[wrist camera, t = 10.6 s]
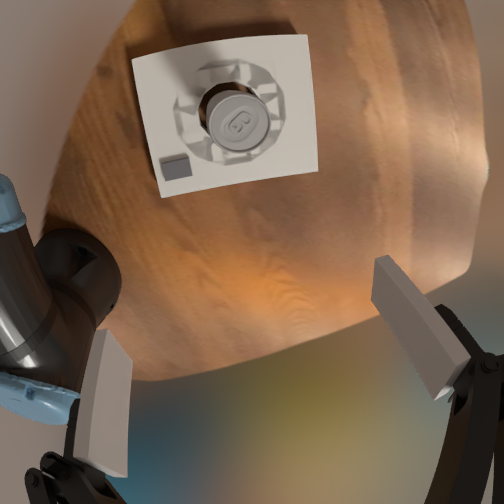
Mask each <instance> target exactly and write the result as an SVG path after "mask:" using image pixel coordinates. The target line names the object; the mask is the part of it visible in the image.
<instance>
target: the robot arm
mask: <svg viewBox="0 0 504 504" xmlns="http://www.w3.org/2000/svg"><path fill="white" fill-rule="evenodd" d="M121 283H122V281H121V274H120V270H119V267H118V265H117V263H116V261H115V259H114V258H113V256H112V255H111V253H110V252H109V251H108V250H107V249H106V248H105V247H104V246H103V245H102V244H101V243H100V242H99V241H97V240H96V239H94V238H93V237H91V236H89V235H87V234H85V233H83V232H80V231H77V230H72V229H58V230H54V231H51V232H49V233H47V234H46V235H44V236H43V237H42V238H41V239H40V240H39V242H38V243H37V244H36V246H35V247H34V246H33V243H32V241H31V238H30V235H29V232H28V229H27V226H26V216H25V214H24V213H23V212H22V210H21V207H20V205H19V202H18V199H17V196H16V192H15V189H14V186H13V184H12V182H11V181H10V179H9V178H8V177H6V176H5V175H2V174H0V405H1V406H3V407H4V408H6V409H8V410H10V411H12V412H14V413H16V414H18V415H20V416H23V417H25V418H28V419H31V420H34V421H37V422H41V423H45V424H52V425H63V424H66V423H68V424H67V426H68V428H67V432H66V438H65V448H64V455H63V457H62V456H60V455H58V454H57V453H55V452H47V453H45V454H44V455H43V457H42V458H41V461H40V469H41V471H40V470H38V469H36V468H30V469H29V470H27V472H26V474H25V486H26V489H27V493H28V497H29V500H30V504H57V502H58V504H127V503H126V502H125V501H124V500H123V498H122V497H121V496H120V495H119V493H118V492H117V491H116V490H115V489H114V487H113V486H112V484H111V483H110V482H109V481H108V480H107V479H106V478H105V473H106V474H108V475H110V476H113V477H127V443H128V442H127V441H128V418H129V401H130V388H131V377H132V367H133V361H132V360H131V358H130V357H129V356H128V355H127V353H126V352H125V351H124V350H123V348H122V347H121V346H120V344H119V343H118V342H117V340H116V339H115V338H114V336H113V335H112V334H111V332H110V331H109V330H108V329H103V330H98V331H96V328H97V327H98V326H99V325H100V324H101V323H102V321H103V320H104V319H105V317H106V316H107V315H108V314H109V313H110V312H111V311H112V310H113V308H114V307H115V305H116V303H117V300H118V297H119V294H120V290H121ZM371 301H372V302H373V304H374V305H375V307H376V308H377V309H378V311H379V312H380V314H381V315H382V317H383V319H384V320H385V321H386V323H387V325H388V326H389V328H390V329H391V331H392V332H393V334H394V335H395V337H396V339H397V340H398V342H399V343H400V345H401V346H402V348H403V350H404V351H405V353H406V354H407V356H408V358H409V359H410V361H411V363H412V364H413V366H414V368H415V369H416V371H417V372H418V374H419V376H420V378H421V379H422V381H423V382H424V384H425V386H426V388H427V389H428V391H429V393H430V395H431V396H432V398H433V400H436V399H438V398H439V397H441V396H443V395H444V394H446V393H448V391H449V389H450V388H451V387H452V386H453V388H454V390H455V391H454V392H453V394H452V395H451V396H450V398H449V400H448V403H450V402H451V400H452V399H453V401H452V406H451V412H450V417H449V422H448V426H447V431H446V435H445V439H444V444H443V447H442V451H441V455H440V458H439V462H438V465H437V468H436V472H435V475H434V478H433V481H432V484H431V486H430V489H429V492H428V495H427V498H426V500H425V503H424V504H481V501H482V498H483V495H484V491H485V488H486V484H487V480H488V476H489V471H490V467H491V463H492V458H493V453H494V481H493V496H492V504H504V354H503V355H499V356H495V355H494V354H492V353H485V352H484V351H483V350H482V349H481V348H480V346H479V345H478V344H477V342H476V341H475V340H474V338H473V337H472V336H471V335H470V333H469V332H468V331H467V329H466V328H465V327H463V324H462V323H461V322H460V320H458V318H457V317H456V316H455V314H454V313H453V312H452V311H451V310H450V309H448V308H447V307H445V306H444V305H442V304H440V305H438V306H436V307H433V306H432V305H431V304H430V302H429V301H428V300H427V299H426V298H425V296H424V295H423V294H422V293H421V291H420V290H419V289H418V288H417V287H416V286H415V284H414V283H413V282H412V281H411V280H410V279H409V277H408V276H407V275H406V274H405V273H404V272H403V271H402V269H401V268H400V267H399V266H398V265H397V264H396V263H395V262H394V260H393V259H392V258H391V257H390V256H389V255H385V256H382V257H379V258H376V259H375V265H374V276H373V286H372V296H371ZM89 354H90V355H89ZM88 358H89V359H88ZM87 361H88V363H87ZM86 366H87V369H86ZM85 370H86V373H85ZM84 374H85V378H84ZM83 379H84V383H83ZM82 383H83V388H82ZM81 388H82V394H81V395H80V393H81Z"/></svg>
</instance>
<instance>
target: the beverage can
mask: <svg viewBox="0 0 504 504" xmlns="http://www.w3.org/2000/svg"><path fill="white" fill-rule="evenodd" d="M206 123H207V130H208V133H209V135H210V137H211V139H212V141H213V142H214V143H215V144H216V145H217V146H218V147H220V148H221V149H223V150H225V151H228V152H231V153H237V154H242V153H248V152H251V151H253V150H255V149H257V148H258V147H260V146H261V145H262V144H263V143H264V142H265V140H266V139H267V138H268V135H269V133H270V130H271V116H270V113H269V110H268V108H267V106H266V105H265V104H264V103H263V101H262V100H260V99H259V98H258V97H256V96H254V95H252V94H249V93H246V92H241V91H234V90H227V91H222V92H220V93H217V94H216V95H214V96H213V97H212V98H211V99H210V101H209V102H208V105H207V111H206Z"/></svg>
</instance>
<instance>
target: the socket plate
mask: <svg viewBox="0 0 504 504" xmlns="http://www.w3.org/2000/svg"><path fill="white" fill-rule="evenodd" d="M132 65H133V71H134V77H135V83H136V88H137V93H138V98H139V104H140V109H141V113H142V118H143V123H144V128H145V132H146V137H147V141H148V146H149V150H150V154H151V158H152V162H153V167H154V171H155V175H156V178H157V182H158V186H159V190H160V194H161V198H165V197H169V196H174V195H178V194H183V193H188V192H193V191H198V190H203V189H208V188H214V187H219V186H225V185H230V184H236V183H242V182H248V181H254V180H260V179H266V178H273V177H280V176H287V175H294V174H301V173H309V172H317V171H318V156H317V137H316V121H315V107H314V95H313V83H312V73H311V63H310V54H309V46H308V38H307V35H269V36H254V37H243V38H233V39H225V40H218V41H211V42H205V43H199V44H193V45H188V46H183V47H178V48H174V49H169V50H165V51H161V52H157V53H153V54H149V55H145V56H142V57H138V58H135V59H132ZM226 82H235V83H238V84H240V85H243V86H246V87H248V89H249V90H250V91H251V92H252V94H253V95H254V96H256V97H258V98H259V99H260V100H262V101H263V103H264V104H265V105H266V106H267V108H268V110H269V113H270V116H271V130H270V133H269V135H268V138H267V139H266V140H265V142H264V143H263V144H262V145H261V146H260V147H258V148H257V149H255V150H253V151H251V152H248V153H242V154H237V153H231V152H228V151H225V150H223V149H221V148H220V147H218V146H217V145H216V144H215V143H214V142H213V141H212V139H211V137H210V135H209V133H208V130H207V129H206V128H205V127H204V126H203V125H202V123H201V121H200V115H199V110H198V107H199V105H200V102H201V100H202V98H203V95H204V94H205V93H206V92H207V91H209V90H210V89H211V88H213V87H214V86H215V85H217V84H220V83H226Z"/></svg>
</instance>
